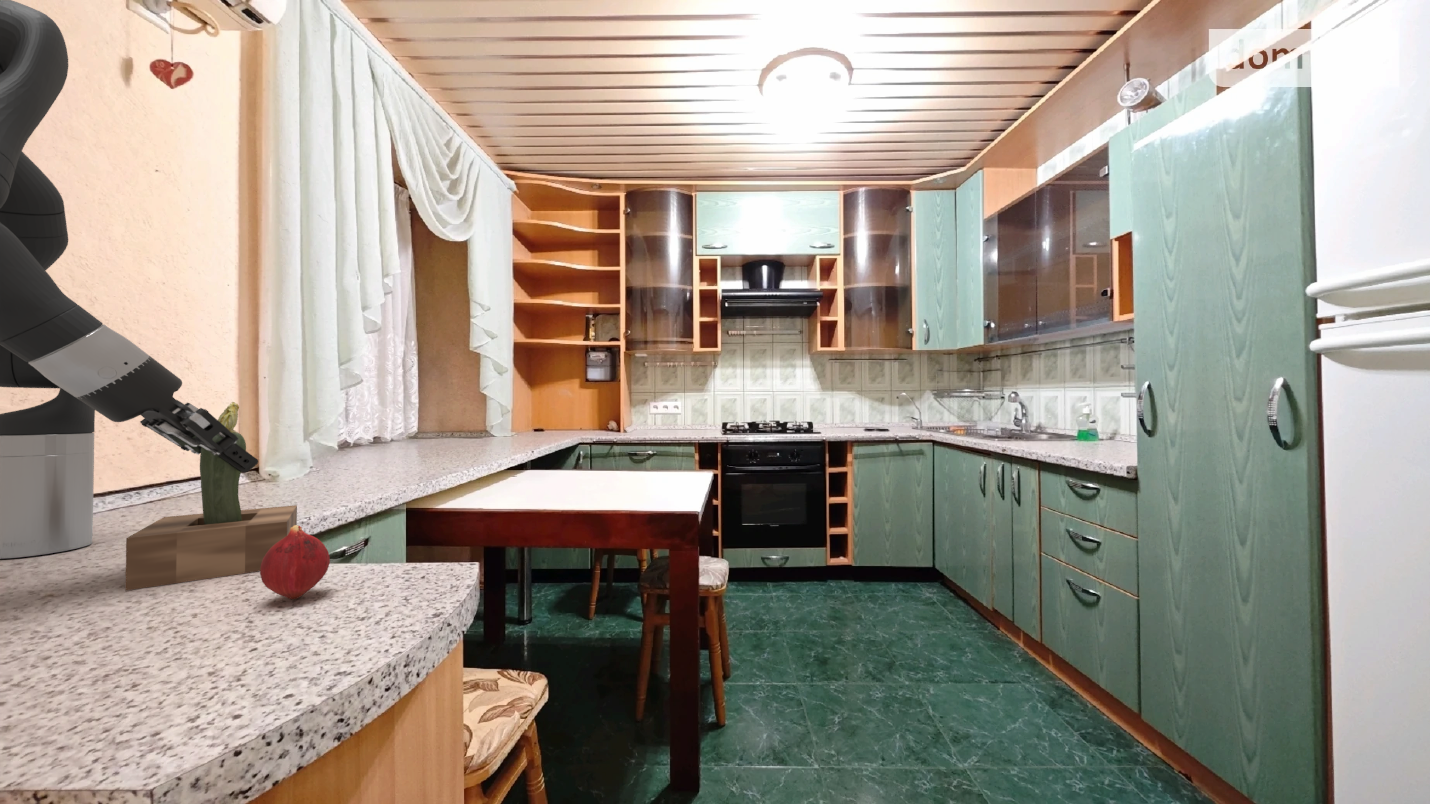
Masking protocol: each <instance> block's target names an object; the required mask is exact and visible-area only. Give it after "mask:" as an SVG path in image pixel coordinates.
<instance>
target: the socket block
mask: <svg viewBox="0 0 1430 804" xmlns="http://www.w3.org/2000/svg"><path fill="white" fill-rule="evenodd" d="M297 517H298V505H297V504H293V505H284V506H272V507H262V508H261V507H260V508H251V509H249V508H248V509H241V518H242V521H238V522H228V523H217V524H207V525H205V523H204V517H203V513H193V514H184V515H183V514H182V515H171V516H163V517H162V518H160V519H158V520H156V521H154V522H152V523H151V524H149V525H148V526H145V527H144V528H141V529H140V530H138V531H137V532H135V533H133V534H131V535H130V536H129V535H128V537H126V541H125V542H126V543H125V586H124V590H125V591H132V590H138V589H146V588H151V587H158V586H165V585H173V584H180V583H185V582H192V581H193V582H194V581H200V580H201V581H202V580H207V579H214V578H222V577H228V576H234V575H241V574H248V573H249V574H250V573H255V572H260V569H261V563H262V560H263V558H264V556H265V555H266V553H267V552H268V551H269V549H270V548H271V547H272V546H273V545H275V544H276V543H277V542H279V541H280V540H282V539H283V538H285V537H286V536H287V535H288V534H289V532H290V528H291V527H293V526H294V525H298V524H297V523H298V520H297V519H298V518H297Z"/></svg>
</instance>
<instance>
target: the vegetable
mask: <svg viewBox="0 0 1430 804" xmlns="http://www.w3.org/2000/svg"><path fill="white" fill-rule="evenodd" d="M239 410H240V405H239V404H238V403H236V402H234V401H232V402H231V403H229V405H228V406H227V407H226V408H225V409H224V410H223V412H222V413H221V414H220V415H219V417H218V419H217V420H218V421H219V422H220V423H221V424H222V425H224V426H225V427H226V428H227V429H228V430H229V431H231V432H232V433H233V434H234V435H236V436H237V438H238V440H237V441H236V444H237V445H238V446H240V447H241V448H243V449H244V450H245V451H247V444H246V440H245V438H244V436H243V435H242V433H240V432H238V431H236V430H235V427H236V426H237V424H238V420H239V419H238V418H239ZM212 440H213V441H214V442H215V443H217V442H219V441H220V440H221V438H220V437H218V436H215V437H213V439H212ZM199 473H200V474H199V476H200V488H201V489H200V491H201V502H202V503H201V504H202V514H203V517H204V523H205V525H207V524H217V523H228V522H238V521H242V518H241V510H242V508H241V503H240V500H239V499H240V498H239V483H240V477H241V474H242V472H240V471H238V470H237V469H235V468H234V467H232V466H231V465H230V464H228V463H227V462H225V461H224V460H222V459H221V458H220V457H218V456H216V455H213V454H212V453H211V452H209V451H208V450H206V449H205V448H203V447H201V453H200V454H199Z"/></svg>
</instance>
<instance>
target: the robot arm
mask: <svg viewBox="0 0 1430 804" xmlns="http://www.w3.org/2000/svg"><path fill="white" fill-rule="evenodd" d="M68 56H69V55H68V48H67V45H66V41H65V39H64V35H63V34H62V31H61V29H60V27H59V26H58V24H57V23H56V22H55V21H54V20H53V19H52V18H51V17H49V15H47V14H46V13H44V12H42V11H41V10H38V9H35V8H33V7H30V6H28V5H26V4H23V3H20V2H18V1H15V0H0V388H12V389H13V388H19V389H20V388H23V389H59V392H58V394H57V395H56V396H55V397H54V398H52V399H51V400H48V401H45V402H44V403H40V404H38V405H34V406H32V407H28V408H23V409H18V410H13V411H9V412H3V413H0V559H1V560H2V559H16V558H25V557H35V556H41V555H49V554H53V553H60V552H66V551H70V550H75V549H79V548H84V547H87V546H89V545H91V544H93V525H94V523H93V522H94V521H93V520H94V480H95V477H94V476H95V475H94V473H95V470H94V469H95V419H96V418H95V415H96V412H98V413H99V414H100V415H102V416H103V417H105V418H107V419H108V420H110V421H111V422H113V423H123V422H127V421H130V420H132V419H135V418H136V417H139V416H141V417H142V418H143V419H141V420H140V421H139V423H140V424H141V426H143V427H145V428H147V429H149V430H151V431H153V432H154V433H156V434H158V435H159V436H160V437H162V438H165V439H166V440H168V441H169V442H170V443H173V444H174V445H176V446H177V447H179V448H180V449H181V450H183V451H187V452H189V451H190V452H191V454H194V455H195V454H196V455H197V456H200V454H201V447H203V448H205V449H206V450H208V451H209V452H211V453H212V454H213V455H216V456H218V457H220V458H221V459H222V460H224V461H225V462H227V463H228V464H230V465H231V466H232V467H234V468H235V469H237V470H238V471H240V472H241V473H249V471H251V470H252V469H253V468H255V466H257V464H258V463H259V459H257V458H256V457H255V456H254V455H252V454H251V453H249V452H248V451H247V450H246V451H245V450H244V449H243V448H241V447H240V446H238V445H237V444H236V441H237V440H238V438H237V436H236V435H234V434H233V433H232V432H231V431H229V430H228V429H227V428H226V427H225V426H224V425H222V424H221V423H220V422H219V421H218V419H217V418H216V417H214V415H212V414H211V413H210V411H208V410H207V409H206V408H202V407H200V408H198V407H196V406H195V405H194V404H191V403H190V402H186V403H183V402H181V401H180V400H179V399H175V397H174V394H175V393H176V392H178V391H179V390H180V388H181V387H182V386H183V381H182V379H181V378H179V377H178V376H177V375H175V373H173V372H172V371H171V370H169V369H168V368H166V367H165V366H164V365H162V364H161V363H160V362H159V361H157V360H156V359H155V358H153V357H152V356H151V355H149V354H148V353H146V352H145V351H144V350H143V349H141V348H140V347H139V346H138V345H136V344H135V343H134V342H133V341H131V340H129V339H128V338H127V337H125V336H123V335H122V334H120V333H119V332H117V331H115V330H114V329H112V328H111V327H108V325H106V324H103V322H102V321H101V320H99V319H98V318H96V317H95V316H94V315H92V314H91V312H88V310H86V309H85V308H83V307H82V306H81V305H80V304H78V303H76V302H75V301H74V300H72V299H71V298H70V297H68V296H67V295H66V294H65V293H64V292H63V291H62V290H61V289H60V288H59V286H58V284H56V282H55V280H54V279H53V278H52V277H51V275H50V274H49V273H48V272H47V270H48V269H49V268H50V267H52V266H53V265H54V264H55V262H57V260H59V259H60V257H62V255H63V254H64V253H65V252H66V249H67V248H68V245H69V234H68V233H69V232H68V227H67V219H66V217H67V216H66V210H65V203H64V202H65V201H64V199H63V196H62V194H61V193H60V192H59V190H58V188H57V187H56V186H55V184H54V183H53V182H52V180H50V178H49V177H48V176H47V175H46V174H45V173H44V172H43V171H42V170H41V168H39V166H38V165H36V164H35V162H33V161H32V160H31V159H30V158H29V156H27V155H26V154H25V153H24V152H23V149H24V147H25V145H26V144H27V141H28V140H29V138H30V137H31V136H32V134H33V133H34V131H35V130H36V128H38V126H39V125H40V123H41V122H42V121H43V120H44V118H45V117H46V115H47V114H48V112H49V111H50V109H51V108H52V106H53V104H54V103H55V101H56V100H57V98H58V96H60V94H61V92H62V91H63V88H64V86H65V83H66V80H67V77H68V73H69V72H68V71H69V57H68ZM215 436H218V437H220V438H221V440H220V441H219V442H217V443H215V442H214V441H213V440H212V439H213V437H215Z"/></svg>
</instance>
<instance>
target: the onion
mask: <svg viewBox="0 0 1430 804" xmlns="http://www.w3.org/2000/svg"><path fill="white" fill-rule="evenodd" d="M330 564H331V562H330V554H329V550H328V549H327V546H325V544H324V543H323V542H322V541H321V540H320V539H318V537H315V536H314V535H311V534H308V533H306V532H305V531H304V530H303V527H302V526H300V525H298V524H297V525H294V526H293V527H291V528H290V532H289V534H288V535H287V536H286V537H285V538H283V539H282V540H280V541H279V542H277V543H276V544H275V545H273V546H272V547H271V548H270V549H269V551H268V552H267V553H266V555H265V556H264V558H263V560H262V563H261V569H260V571H259V574H260V575H259V576H260V579H261V582H262V583H263V584H264V586H265V587H266V588H267V589H268V590H269V591H272V592H273V593H275V594H276V595H279V596H282V597H285V598H287V599H288V600H297V599H299V598H301V597H302V596H304V595H305V594H306V593H307V592H309V591H310V590H311V589H313V588H314V587H315V586H316V585H317V584H318V583H319V582H320V581H321V580H322V579H323V578H324V576H325V575H326V574H327V572H328V570H329V567H330Z"/></svg>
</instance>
